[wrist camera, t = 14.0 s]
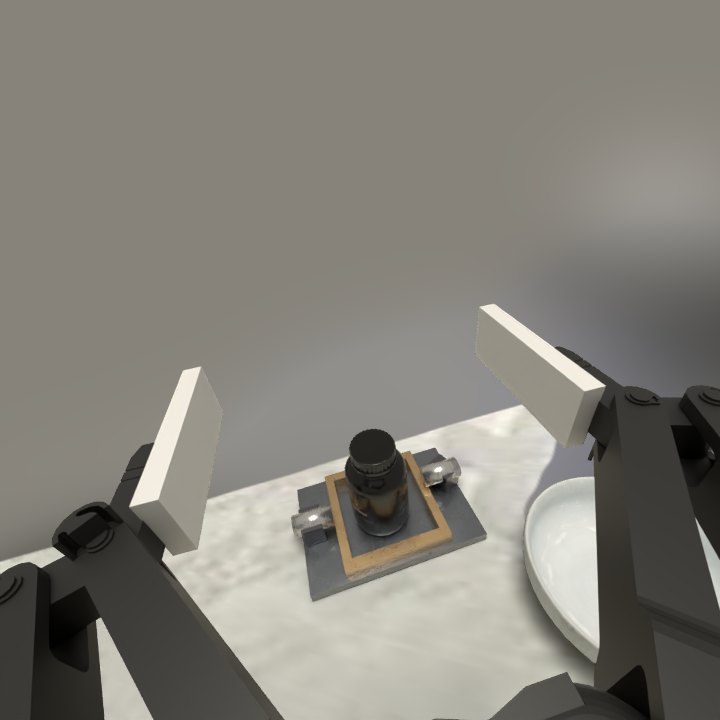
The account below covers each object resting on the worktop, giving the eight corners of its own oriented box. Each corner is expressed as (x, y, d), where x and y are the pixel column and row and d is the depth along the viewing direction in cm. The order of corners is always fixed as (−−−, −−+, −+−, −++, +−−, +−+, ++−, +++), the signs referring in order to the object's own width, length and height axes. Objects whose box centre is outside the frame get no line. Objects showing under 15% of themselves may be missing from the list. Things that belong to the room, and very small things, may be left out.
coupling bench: (308, 603, 35) (297, 582, 32) (295, 496, 45) (286, 474, 42) (487, 538, 38) (491, 515, 35) (436, 452, 48) (436, 429, 46)
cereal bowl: (615, 495, 40) (635, 457, 36) (792, 678, 26) (857, 649, 22) (484, 534, 38) (490, 499, 34) (600, 752, 24) (633, 735, 20)
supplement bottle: (347, 532, 39) (328, 468, 32) (361, 482, 44) (348, 418, 37) (406, 543, 37) (399, 478, 30) (413, 489, 42) (409, 423, 36)
